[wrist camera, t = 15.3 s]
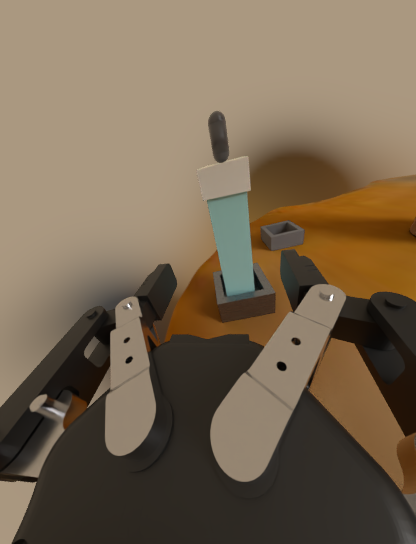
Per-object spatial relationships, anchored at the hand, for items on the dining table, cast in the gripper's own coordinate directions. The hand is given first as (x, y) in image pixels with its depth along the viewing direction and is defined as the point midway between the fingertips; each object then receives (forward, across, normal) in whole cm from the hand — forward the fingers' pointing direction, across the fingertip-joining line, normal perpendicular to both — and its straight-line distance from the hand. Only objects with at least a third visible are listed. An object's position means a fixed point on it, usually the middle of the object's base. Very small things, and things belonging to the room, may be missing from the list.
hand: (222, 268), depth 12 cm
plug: (+8, -1, +10) cm, 13 cm away
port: (+8, -1, +11) cm, 14 cm away
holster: (+25, -9, +11) cm, 29 cm away
